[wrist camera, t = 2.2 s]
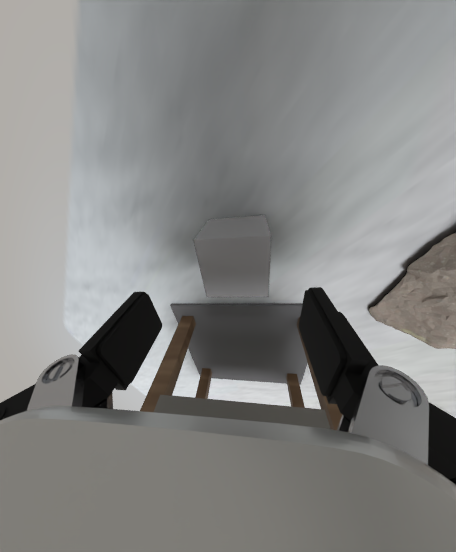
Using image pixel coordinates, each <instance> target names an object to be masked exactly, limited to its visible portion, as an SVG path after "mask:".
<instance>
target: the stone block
mask: <svg viewBox="0 0 456 552" xmlns="http://www.w3.org/2000/svg"><path fill="white" fill-rule="evenodd" d="M193 241H194V246H195V250H196V254H197V258H198V262H199V266H200V271H201V275H202V279H203V283H204V287H205V292H206V296H207V297H269V275H270V253H271V233H270V229H269V226H268V223H267V220H266V216H265V215H256V216H244V217H231V218H219V219H209V220H208V221H207V222H206V224H205V225H204V226H203V228H202V229H201V230H200V232H199V233H198V234H197V236H196V237H195V238H194V240H193Z"/></svg>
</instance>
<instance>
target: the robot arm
mask: <svg viewBox="0 0 456 552" xmlns="http://www.w3.org/2000/svg"><path fill="white" fill-rule="evenodd" d="M161 328H162V323H161V321H160V318H159V316H158V314H157V312H156V310H155V308H154V306H153V303H152V301H151V299H150V297H149V295H148V294H146V293H145V292H134V293H133V294H132V295H131V296H130V297H129V298H128V299H127V300H126V301H125V302H124V303H123V304H122V305H121V306H120V308H119V309H118V310H117V311H116V312H115V313H114V314H113V315H112V316H111V317H110V318H109V319H108V320H107V321H106V322H105V323H104V324H103V325H102V327H101V328H100V329H99V330H98V331H97V332H96V333H95V334H94V335H93V336H92V337H91V338H90V339H89V340H88V341H87V342H86V343H85V344H84V346H83V347H82V348H81V349H80V350H79V352H80V353H81V354H82V355H81V356H80V357H78V356H76V355H67V356H65V357H62V358H60V359H58V360H56V361H55V362H54V363H52V364H51V365H49V366H48V367H47V368H46V369H45V370H44V371H43V372H42V373H41V375H40V376H39V378H38V380H37V382H36V384H35V385H33V386H31V387H29V388H27V389H25V390H24V391H22V392H20V393H18V394H16V395H14V396H12V397H11V398H9V399H7V400H5V401H4V402H1V403H0V552H456V418H454V417H453V416H451V415H449V414H448V413H446V412H444V411H443V410H441V409H439V408H438V407H436V406H434V405H433V404H431V403H429V402H428V398H427V396H426V394H425V393H424V391H423V389H422V388H421V387H420V386H419V385H418V384H417V383H416V382H415V381H414V380H413V379H411V378H410V377H409V376H407V375H406V374H404V373H402V372H401V371H399V370H397V369H394V368H392V367H388V366H383V365H382V366H378V364H377V363H376V361H375V360H374V358H373V357H372V355H371V354H370V353H369V351H368V350H367V348H366V347H365V345H364V344H363V342H362V341H361V339H360V338H359V337H358V335H357V334H356V332H355V331H354V329H353V328H352V326H351V325H350V324H349V322H348V321H347V319H346V318H345V316H344V315H343V314H342V313H341V312H338V311H337V310H336V308H335V307H334V305H333V304H332V302H331V301H330V299H329V298H328V296H327V295H326V293H325V292H324V290H323V289H322V288H321V287H319V288H309V290H306V291H305V294H304V300H303V305H302V310H301V315H300V321H299V330H300V333H301V336H302V339H303V342H304V345H305V348H306V351H307V354H308V357H309V359H310V362H311V365H312V368H313V371H314V374H315V377H316V380H317V383H318V386H319V389H320V392H321V394H322V395H323V396H326V398H327V401H328V404H337V406H338V408H339V411H340V413H341V414H342V417H341V420H340V423H339V426H338V428H337V430H331V429H325V428H316V427H307V426H298V425H289V424H280V423H269V422H258V421H247V420H236V419H224V418H213V417H202V416H190V415H178V414H166V413H154V412H142V411H130V410H129V411H128V410H117V409H113V401H112V391H113V390H114V388H116V390H126V389H127V387H128V385H129V384H130V383H131V382H132V381H133V380H134V378H135V376H136V374H137V372H138V370H139V369H140V367H141V365H142V363H143V361H144V360H145V358H146V356H147V354H148V352H149V350H150V349H151V347H152V345H153V343H154V341H155V339H156V338H157V336H158V334H159V332H160V330H161Z"/></svg>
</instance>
